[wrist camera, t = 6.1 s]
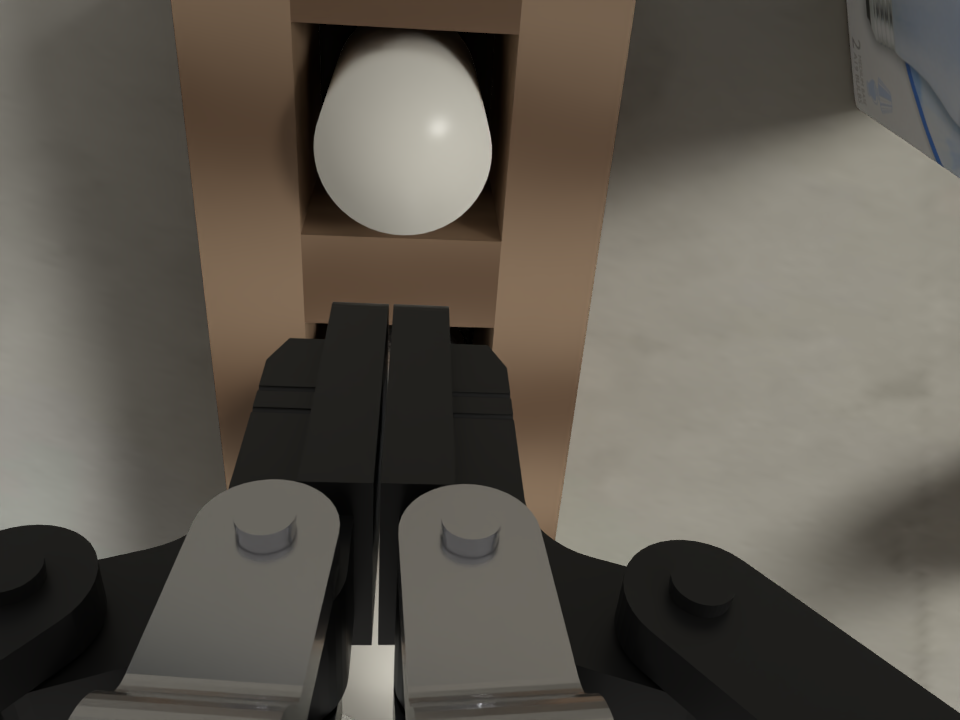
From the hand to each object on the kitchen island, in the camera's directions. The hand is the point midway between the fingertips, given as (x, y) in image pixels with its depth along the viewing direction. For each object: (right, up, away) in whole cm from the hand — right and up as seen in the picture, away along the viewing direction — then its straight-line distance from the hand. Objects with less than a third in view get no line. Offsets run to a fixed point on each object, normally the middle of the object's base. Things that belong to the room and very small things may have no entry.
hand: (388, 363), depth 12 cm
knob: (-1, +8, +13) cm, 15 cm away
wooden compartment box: (-1, +2, +18) cm, 18 cm away
